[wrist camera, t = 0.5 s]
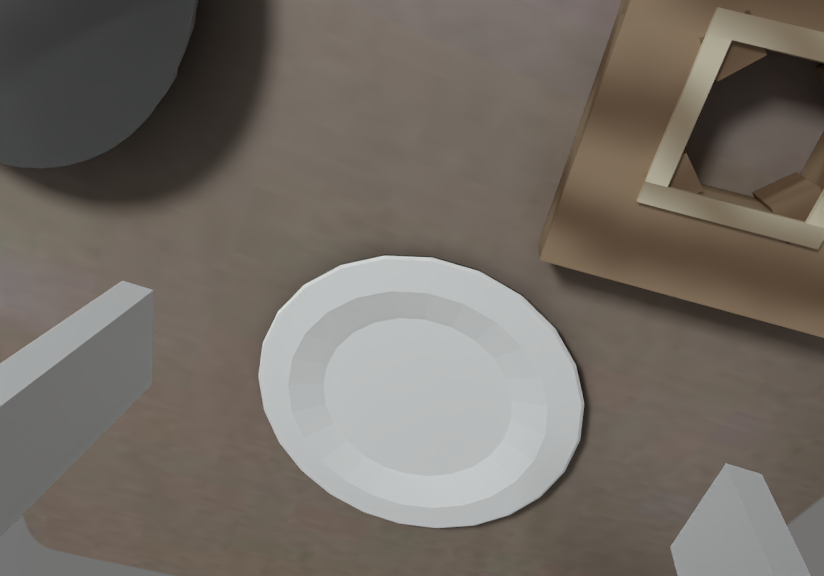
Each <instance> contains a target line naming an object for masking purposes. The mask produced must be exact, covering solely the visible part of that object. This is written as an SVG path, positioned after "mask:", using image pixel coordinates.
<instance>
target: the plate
mask: <svg viewBox="0 0 824 576" xmlns="http://www.w3.org/2000/svg"><path fill="white" fill-rule="evenodd" d="M258 378H259V383H260V389H261V395H262V401H263V407H264V411H265V413H266V415H267V418H268V420H269V422H270V424H271V426H272V428H273V430H274V433H275V435H276V437H277V439H278V441H279V443H280V444H281V445H282V447H283V448H284V449H285V450H286V452H287V453H288V454H289V455H290V457H291V458H292V459H293V460H294V462H295V463H296V464H297V465H298V467H299V468H300V469H301V470H302V471H303V472H304V473H305V474H306V475H308V476H309V477H310V478H311V479H312V480H314V481H315V482H316V483H317V484H319V485H320V486H321V487H322V488H323V489H325V490H326V491H327V492H328V493H329V494H331V495H333V496H335V497H337V498H338V499H340V500H342V501H344V502H346V503H348V504H349V505H351V506H353V507H355V508H357V509H359V510H361V511H362V512H365V513H368V514H371V515H374V516H377V517H381V518H384V519H387V520H390V521H393V522H396V523H399V524H407V525H415V526H423V527H431V528H448V527H462V526H475V525H478V524H481V523H485V522H488V521H492V520H495V519H498V518H502V517H505V516H509V515H511V514H513V513H514V512H516V511H518V510H519V509H521V508H523V507H525V506H526V505H528V504H530V503H531V502H533V501H535V500H537V499H538V498H540V497H541V496H542V495H543V494H544V493H545V492H546V491H547V490H548V489H549V488H550V487H551V486H552V485H553V484H554V483H555V482H556V481H557V479H558V478H559V477H560V476H561V475H562V474H563V473H564V472H565V470H566V468H567V466H568V464H569V462H570V460H571V458H572V456H573V454H574V452H575V450H576V448H577V446H578V444H579V441H580V437H581V429H582V420H583V412H584V399H583V395H582V390H581V385H580V381H579V376H578V372H577V367H576V364H575V362H574V360H573V358H572V356H571V355H570V353H569V351H568V349H567V348H566V346H565V344H564V342H563V341H562V339H561V337H560V335H559V334H558V332H557V330H556V328H555V327H554V326H553V325H552V324H551V323H550V322H549V321H548V320H547V319H546V318H545V317H544V316H543V315H542V314H541V313H540V312H539V311H538V310H537V309H536V308H535V307H534V306H533V305H532V304H531V303H530V302H529V301H528V300H527V299H526V298H525V297H524V296H523V295H522V294H520V293H518V292H516V291H515V290H513V289H511V288H510V287H508V286H506V285H504V284H503V283H501V282H499V281H497V280H496V279H494V278H492V277H491V276H489V275H487V274H485V273H484V272H482V271H480V270H477V269H474V268H470V267H467V266H463V265H460V264H456V263H453V262H450V261H446V260H443V259H439V258H436V257H430V256H406V255H381V256H377V257H372V258H367V259H363V260H358V261H354V262H349V263H344V264H341V265H339V266H337V267H335V268H333V269H331V270H330V271H328V272H326V273H324V274H322V275H320V276H318V277H317V278H315V279H313V280H311V281H309V282H307V283H305V284H304V285H303V286H302V287H301V288H300V289H299V290H298V291H297V292H296V294H295V295H294V296H293V297H292V298H291V299H290V300H289V301H288V302H287V303H286V304H285V305H284V306H283V307H282V308H281V309H280V310H279V311H278V313H277V315H276V317H275V319H274V321H273V323H272V325H271V327H270V329H269V331H268V333H267V335H266V337H265V339H264V341H263V345H262V353H261V360H260V368H259V376H258Z"/></svg>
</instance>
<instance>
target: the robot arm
mask: <svg viewBox="0 0 824 576" xmlns="http://www.w3.org/2000/svg"><path fill="white" fill-rule="evenodd" d="M153 291H154V290H151V289H148V288H145V287H141V286H138V285H135V284H131V283H128V282H125V281H121V282H120V283H118V284H117V285H115V286H114V287H112V288H111V289H109V290H108V291H106V292H105V293H103V294H102V295H101V296H99V297H98V298H96V299H95V300H93V301H92V302H90V303H89V304H87V305H86V306H84V307H83V308H81V309H80V310H78V311H77V312H75V313H74V314H72V315H71V316H70V317H68V318H67V319H65V320H64V321H62V322H61V323H59V324H58V325H56V326H55V327H53V328H52V329H50V330H49V331H47V332H46V333H44V334H43V335H41V336H40V337H39V338H37V339H36V340H34V341H33V342H31V343H30V344H28V345H27V346H25V347H24V348H22V349H21V350H19V351H18V352H16V353H15V354H13V355H12V356H10V357H9V358H8V359H6V360H5V361H3V362H2V363H0V537H1V536H2V535H3V534H4V533H5V532H6V531H7V530H8V529H9V528H10V527H11V526H12V524H14V523H15V522H16V521H17V520H18V519H19V518H20V517H21V516H22V515H23V514H24V513H25V512H26V511H27V510H28V509H29V508H30V507H31V506H32V505H33V504H34V503H35V502H36V501H37V500H38V499H39V498H40V497H41V496H42V495H43V494H44V493H45V492H46V491H47V490H48V489H49V488H50V487H51V486H52V485H53V484H54V483H55V482H56V481H57V480H58V479H59V478H60V477H61V476H62V475H63V474H64V473H65V472H66V471H67V470H68V469H69V467H70V466H71V465H72V464H73V463H74V462H75V461H76V460H77V459H78V458H79V457H80V456H81V455H82V454H83V453H84V452H85V451H86V450H87V449H88V448H89V447H90V446H91V445H92V444H93V443H94V442H95V441H96V440H97V439H98V438H99V437H100V436H101V435H102V434H103V433H104V432H105V431H106V430H107V429H108V428H109V427H110V426H111V425H112V424H113V423H114V422H115V421H116V420H117V419H118V418H119V417H120V416H121V415H122V414H123V413H124V412H125V411H126V410H127V409H128V408H129V407H130V406H131V405H132V404H133V403H134V402H135V401H136V400H137V399H138V398H139V397H140V396H141V395H142V394H143V393H144V392H145V391H146V390H147V389H148V388H149V387H150V386H151V385H152V359H153ZM670 548H671V552H672V556H673V560H674V564H675V568H676V571H677V575H678V576H811V575H810V573H809V571H808V569H807V567H806V565H805V563H804V561H803V558H802V556H801V554H800V552H799V550H798V548H797V546H796V544H795V542H794V540H793V538H792V536H791V534H790V532H789V530H788V528H787V525H786V523H785V521H784V519H783V517H782V515H781V513H780V511H779V509H778V507H777V505H776V503H775V501H774V499H773V497H772V495H771V493H770V491H769V488H768V486H767V484H766V482H765V480H764V478H763V476H762V474H759V473H756V472H753V471H749V470H746V469H743V468H739V467H736V466H733V465H730V464H725V465H724V467H723V468H722V470H721V471H720V473H719V474H718V476H717V477H716V479H715V480H714V482H713V483H712V485H711V486H710V488H709V489H708V491H707V492H706V494H705V495H704V497H703V498H702V500H701V501H700V503H699V504H698V506H697V508H696V509H695V511H694V512H693V514H692V515H691V517H690V518H689V520H688V521H687V523H686V524H685V526H684V527H683V529H682V530H681V532H680V533H679V535H678V536H677V538H676V539H675V541H674V542H673V544H672V545H671V547H670Z"/></svg>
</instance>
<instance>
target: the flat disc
mask: <svg viewBox="0 0 824 576" xmlns="http://www.w3.org/2000/svg"><path fill="white" fill-rule="evenodd" d="M198 1H199V0H0V164H5V165H10V166H15V167H27V168H51V167H61V166H68V165H71V164H75V163H79V162H83V161H86V160H89V159H91V158H94V157H96V156H98V155H100V154H102V153H104V152H107V151H109V150H110V149H112V148H113V147H115V146H116V145H118V144H119V143H121V142H122V141H123V140H125V139H126V138H128V137H129V136H130V135H131V134H132V133H133V132H134V131H135V130H136V129H137V128H138V127H139V126H140V125H141V124H142V123H143V122H144V121H145V120H146V119H147V118H148V117H149V116H150V114H151V113H152V112H153V110H154V109H155V107H156V106H157V105H158V103H159V102H160V101H161V99H162V98H163V96H164V95H165V94H166V93H167V92H168V90H169V87H170V86H171V85H172V83H173V82H174V80H175V78H176V76H177V70H178V66H179V64H180V62H181V60H182V58H183V56H184V53H185V51H186V49H187V46H188V43H189V39H190V37H191V35H192V32H193V29H194V25H195V19H196V9H197V5H198Z"/></svg>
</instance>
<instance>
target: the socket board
mask: <svg viewBox="0 0 824 576" xmlns="http://www.w3.org/2000/svg"><path fill="white" fill-rule="evenodd" d="M766 50H768V51H773V52H777V53H781V54H785V55H789V56H793V57H797V58H802V59H806V60H810V61H814V62H818V63H822V64H823V65H821V66H819V67H817V71H818V74H819V76H820V79H821V82H822V84H823V87H824V0H622V3H621V6H620V9H619V12H618V15H617V18H616V21H615V23H614V26H613V29H612V32H611V35H610V38H609V41H608V44H607V47H606V50H605V52H604V55H603V58H602V61H601V64H600V67H599V70H598V73H597V76H596V79H595V81H594V84H593V87H592V90H591V93H590V96H589V99H588V102H587V105H586V107H585V110H584V113H583V116H582V119H581V122H580V125H579V128H578V131H577V134H576V136H575V139H574V142H573V145H572V148H571V151H570V154H569V157H568V160H567V162H566V165H565V168H564V171H563V174H562V177H561V180H560V183H559V186H558V189H557V191H556V194H555V197H554V200H553V203H552V206H551V209H550V212H549V215H548V218H547V220H546V223H545V226H544V229H543V232H542V235H541V238H540V241H539V260H541V261H544V262H548V263H552V264H555V265H559V266H563V267H566V268H570V269H574V270H577V271H581V272H585V273H588V274H592V275H596V276H599V277H603V278H607V279H610V280H614V281H618V282H621V283H625V284H629V285H632V286H636V287H639V288H643V289H647V290H650V291H654V292H658V293H661V294H665V295H669V296H672V297H676V298H680V299H683V300H687V301H691V302H694V303H698V304H702V305H705V306H709V307H713V308H716V309H720V310H724V311H727V312H731V313H735V314H738V315H742V316H746V317H749V318H753V319H757V320H760V321H764V322H768V323H771V324H775V325H779V326H782V327H786V328H790V329H793V330H797V331H801V332H804V333H808V334H812V335H815V336H819V337H823V338H824V132H823V134H822V136H821V137H820V139H819V141H818V143H817V145H816V147H815V149H814V150H813V152H812V154H811V156H810V158H809V160H808V161H807V163H806V165H805V167H804V169H803V171H802V172H801V174H798V173H794V174H792V175H790V176H787V177H785V178H783V179H781V180H779V181H777V182H774V183H772V184H770V185H768V186H766V187H764V188H761V189H759V190H757V191H755V192H753V195H754V197H755V198H754V197H750V196H746V195H742V194H738V193H734V192H730V191H727V190H723V189H719V188H715V187H711V186H707V185H703V184H701V183H700V181H699V179H698V177H697V175H696V173H695V170H694V168H693V166H692V164H691V162H690V160H689V157H688V155H687V153H686V152H685V151H684V148H685V146H686V144H687V142H688V139H689V137H690V135H691V132H692V130H693V128H694V126H695V123H696V121H697V119H698V116H699V114H700V112H701V110H702V107H703V105H704V103H705V100H706V98H707V96H708V94H709V91H710V89H711V87H712V84H713V82H714V81H716V82H718V81H720V80H722V79H724V78H725V77H727V76H729V75H731V74H733V73H735V72H737V71H738V70H740V69H742V68H744V67H746V66H748V65H750V64H751V63H753V62H755V61H757V60H759V59H761V58H763V57H764V56H766V55H767V53H766Z"/></svg>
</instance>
